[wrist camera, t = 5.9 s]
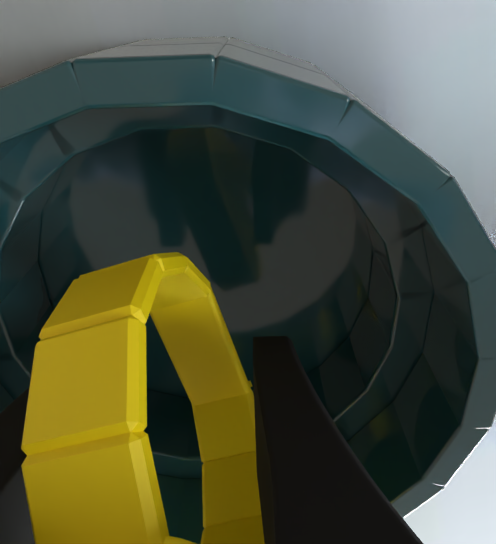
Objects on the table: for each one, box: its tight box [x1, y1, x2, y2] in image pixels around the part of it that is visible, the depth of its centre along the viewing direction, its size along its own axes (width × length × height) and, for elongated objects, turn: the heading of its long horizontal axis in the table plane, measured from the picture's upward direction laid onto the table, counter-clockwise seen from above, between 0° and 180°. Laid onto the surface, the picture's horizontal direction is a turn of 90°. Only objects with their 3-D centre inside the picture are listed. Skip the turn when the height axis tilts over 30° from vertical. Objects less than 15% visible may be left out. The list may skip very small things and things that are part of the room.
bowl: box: [0, 36, 496, 544], centre depth 11 cm, size 11×11×5 cm
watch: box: [21, 252, 265, 544], centre depth 7 cm, size 6×3×6 cm, turn 18°
